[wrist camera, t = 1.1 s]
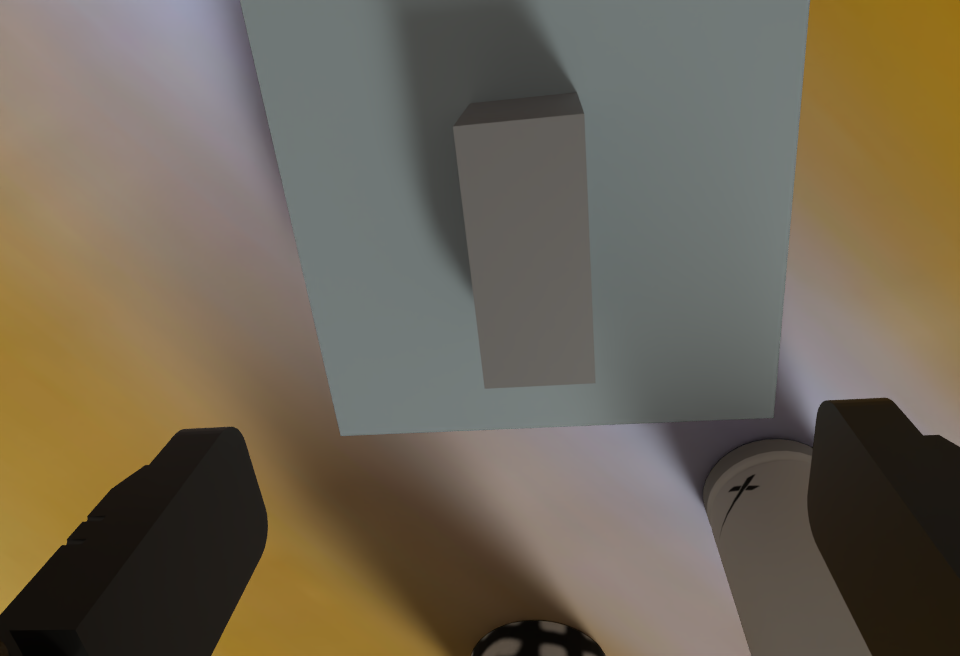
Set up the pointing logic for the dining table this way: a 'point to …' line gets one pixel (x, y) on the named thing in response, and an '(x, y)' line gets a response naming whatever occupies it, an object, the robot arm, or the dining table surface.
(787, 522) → the travel mug
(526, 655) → the spotted tube
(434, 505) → the dining table surface
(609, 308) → the lid
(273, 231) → the dining table surface
